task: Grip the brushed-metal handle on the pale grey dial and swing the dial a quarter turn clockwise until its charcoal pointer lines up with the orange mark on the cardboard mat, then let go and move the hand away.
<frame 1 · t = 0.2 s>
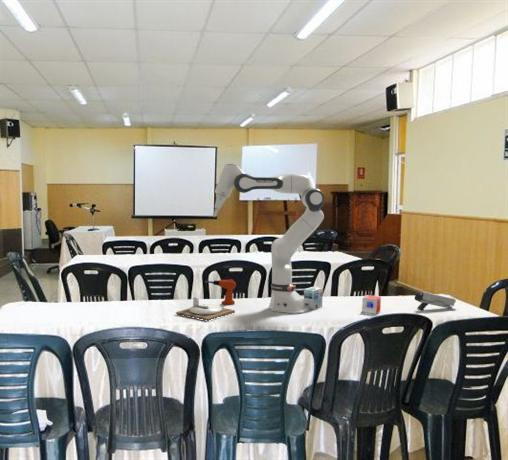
hand: (214, 216, 263), 52 cm above the table, tool tilted 20°, fingers open, 8 cm apart
light bulb box: (312, 307, 273), on the table
toy drill: (220, 304, 277), on the table
cardboard mat: (205, 313, 255), on the table
dial: (205, 304, 255), point 5 cm above the table, hinge at 0.0°
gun: (434, 309, 272), on the table
puzzle cube: (371, 311, 265), on the table
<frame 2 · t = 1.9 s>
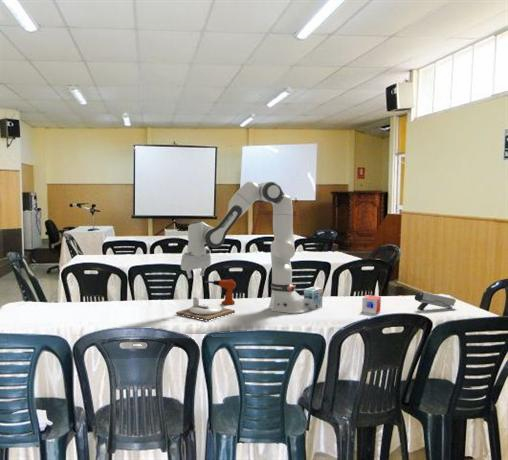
hand: (195, 276, 257), 19 cm above the table, tool pointing down, fingers open, 8 cm apart
nothing on the table moved.
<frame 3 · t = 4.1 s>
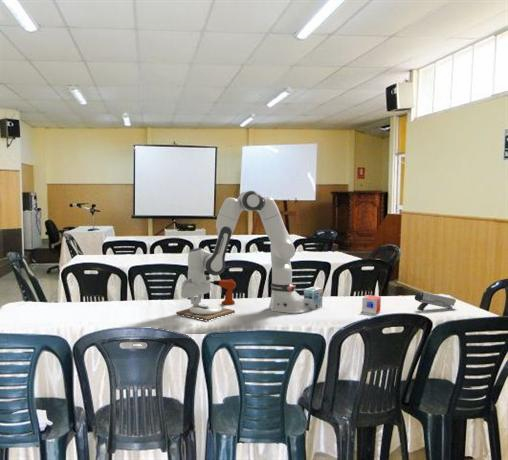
hand: (196, 303, 259), 5 cm above the table, tool pointing down, fingers closed on dial, 3 cm apart
dial: (205, 304, 255), point 5 cm above the table, hinge at 0.0°, touching gripper
everything else where it was.
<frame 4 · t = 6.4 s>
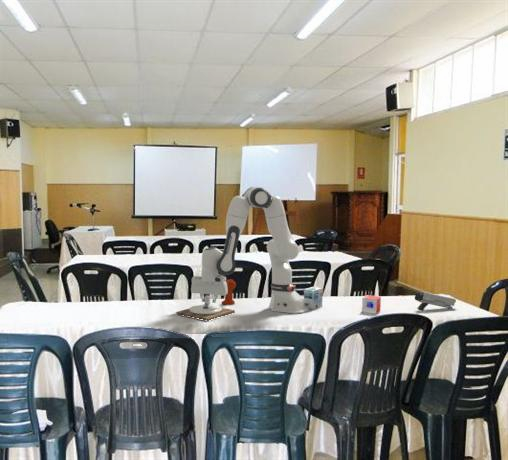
hand: (208, 302, 261), 5 cm above the table, tool pointing down, fingers open, 5 cm apart
dial: (205, 304, 255), point 5 cm above the table, hinge at -55.6°, touching gripper
everything else where it was.
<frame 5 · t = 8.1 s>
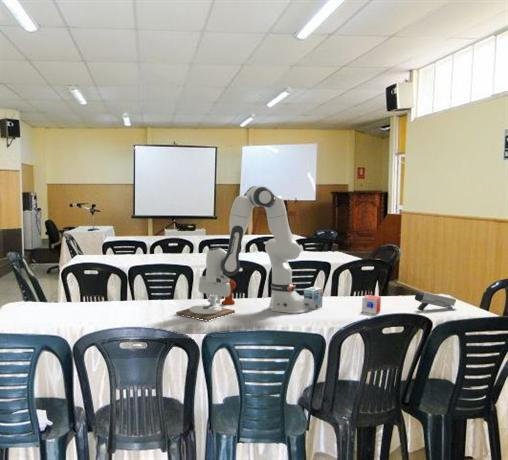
hand: (213, 302, 260), 5 cm above the table, tool pointing down, fingers open, 4 cm apart
dial: (205, 304, 255), point 5 cm above the table, hinge at -81.7°, touching gripper
everything else where it was.
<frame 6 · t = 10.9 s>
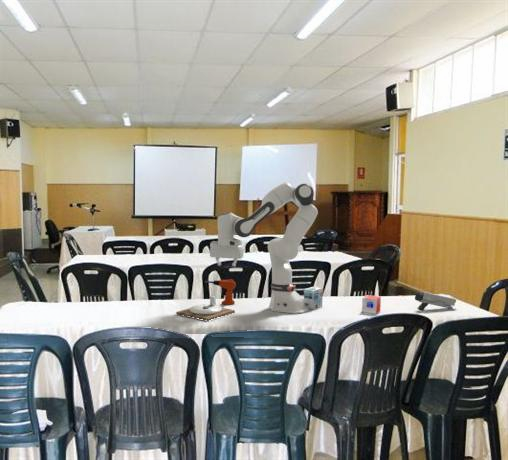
hand: (226, 265, 269), 23 cm above the table, tool pointing down, fingers open, 8 cm apart
dial: (205, 304, 255), point 5 cm above the table, hinge at -81.7°
everything else where it was.
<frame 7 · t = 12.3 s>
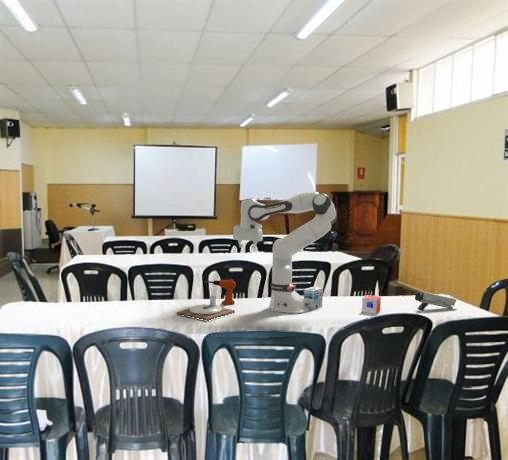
hand: (247, 247, 291), 31 cm above the table, tool pointing down, fingers open, 8 cm apart
nothing on the table moved.
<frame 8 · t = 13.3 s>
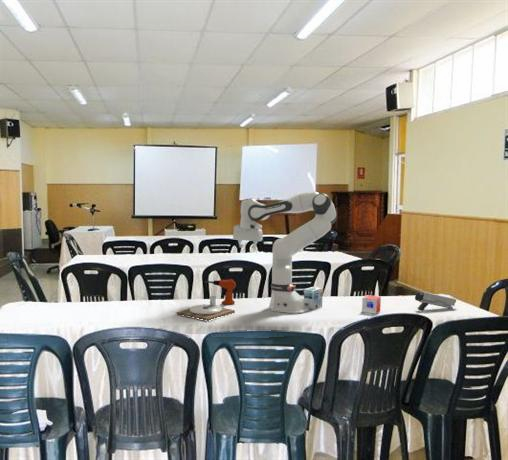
hand: (247, 247, 291), 31 cm above the table, tool pointing down, fingers open, 8 cm apart
nothing on the table moved.
at the end: dial at -82° (first picture: +0°); the gripper is holding nothing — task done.
